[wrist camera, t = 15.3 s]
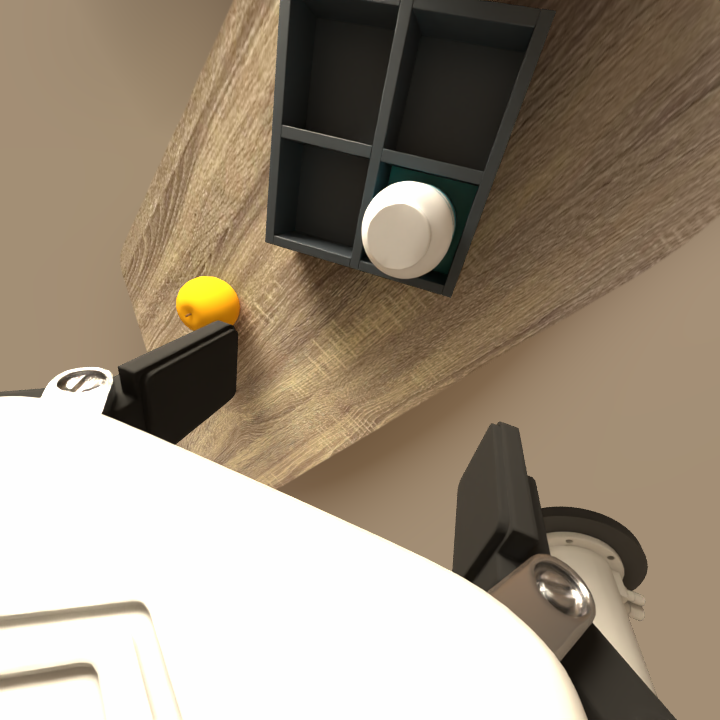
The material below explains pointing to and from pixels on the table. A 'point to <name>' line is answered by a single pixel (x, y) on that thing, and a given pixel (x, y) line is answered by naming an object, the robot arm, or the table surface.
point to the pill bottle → (408, 229)
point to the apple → (207, 302)
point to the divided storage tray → (392, 115)
